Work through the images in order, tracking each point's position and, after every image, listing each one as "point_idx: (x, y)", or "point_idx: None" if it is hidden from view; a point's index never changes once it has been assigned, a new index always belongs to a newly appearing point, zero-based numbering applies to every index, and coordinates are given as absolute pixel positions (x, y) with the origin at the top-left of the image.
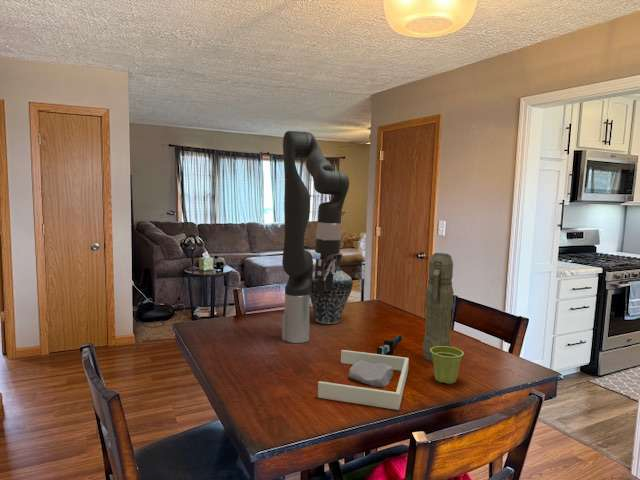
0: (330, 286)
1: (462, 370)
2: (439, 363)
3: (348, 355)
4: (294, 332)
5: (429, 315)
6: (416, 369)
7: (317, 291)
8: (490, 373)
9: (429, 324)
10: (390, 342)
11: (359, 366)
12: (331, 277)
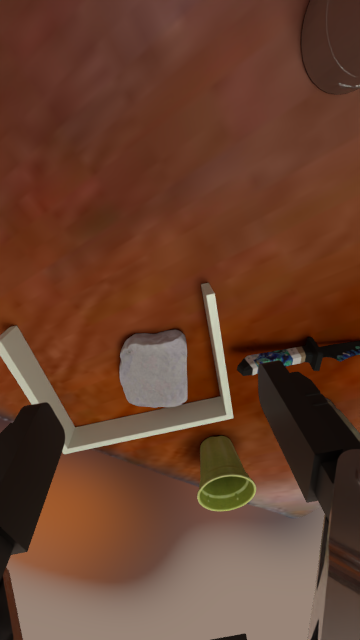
0: (262, 400)
1: (266, 452)
2: (202, 474)
3: (207, 309)
4: (326, 27)
5: None
6: (239, 407)
7: (23, 412)
8: (270, 476)
9: None
10: (314, 366)
11: (148, 359)
12: (302, 481)
